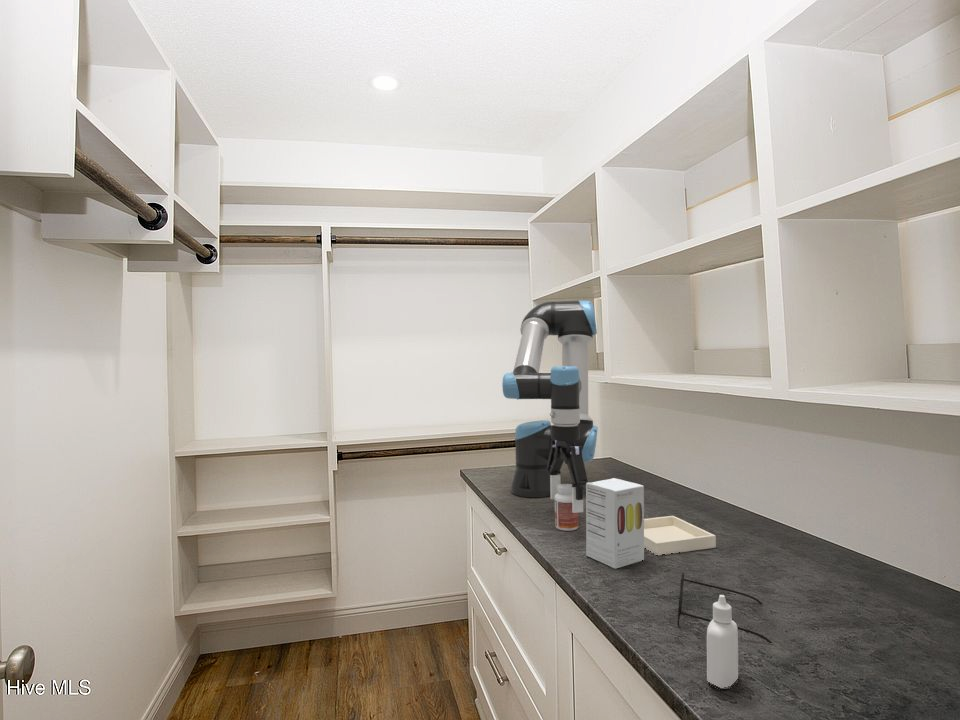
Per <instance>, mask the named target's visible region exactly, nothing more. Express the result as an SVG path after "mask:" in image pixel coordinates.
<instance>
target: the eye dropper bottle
mask: <svg viewBox="0 0 960 720" xmlns="http://www.w3.org/2000/svg"><path fill="white" fill-rule="evenodd" d="M732 613H733V609H732V606H731V605H730V604H729V603H728V602H727V599H726V596H725V595H724V594H719V596H718V600H717V601H715V602H713V603H712V619H711V620H712V621H711V622H709V624H708V626H707V629H706V681H708V682H710V683H712V684H714V685H716V686H718V687H720V688H724V687H728V686H731V685H732V684H733V683H734V682H735V681H736V680H737V679H739V633H738V632H739V629H738V628H737V627H738V625H737V623H736V622H735V621H734V620H733V619H732V616H733V614H732ZM737 681H738V680H737ZM708 682H707V683H708Z"/></svg>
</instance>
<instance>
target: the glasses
mask: <svg viewBox="0 0 960 720" xmlns="http://www.w3.org/2000/svg"><path fill="white" fill-rule="evenodd" d="M684 582H689V583H692V584H697V585H701V586H705V587H708V588H709V587H710V588H714V589H719V590H722V591H726V592H729V593H733V594H737V595H741V596H745V597H747V598H750V599H752V600H754V601H756V602H757V603H759V604H760V605H761V604H764V603H763V602H762V601H760V600H759V599H757V598H756V597H754V596H752V595H750V594H746V593H744V592H740V591H736V590H732V589H729V588H725V587H721V586H717V585H712V584H708V583H703V582H699V581H694V580H690V579H686V578H685V573H684V572H683V573H681V578H680V591H679V599H678V608H677V609H678V610H677V611H678V612H677V625H680V618H681V615H684V616H687V617H690V618H695V619H699V620H701V621H706V622H709V623H710V622H711V621H712V620H713V619H709V618H706V617H702V616H697V615H693V614H690V613H687V612H683V611H682V606H683V600H684V595H683V594H684V590H683V589H684ZM737 628H738V631H739V630H740V631H743V632H746V633H750V634H752V635H755V636H757V637H760V638H762V639H764V640H765V641H766V642H767V643H769V644H770V643H773V642H772V641H771V640H770V639H769V638H767V637H766V636H764V635H763V634H760V633H758V632H755V631H753V630H750V629H747V628H743V627H740V626H737Z"/></svg>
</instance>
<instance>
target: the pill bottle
mask: <svg viewBox="0 0 960 720" xmlns="http://www.w3.org/2000/svg"><path fill="white" fill-rule="evenodd" d="M572 484H573V483H561V484H560V485H558V486H557V491H558V493H557V494H556V495H555V499H553V501H554V526H555V528H556V529H557V530H560V531H565V532H566V531H568V532H570V531H571V532H573V531H575V530H577V529H578V528H579V512H578V513H573V512H572Z"/></svg>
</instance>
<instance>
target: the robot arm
mask: <svg viewBox="0 0 960 720" xmlns="http://www.w3.org/2000/svg"><path fill="white" fill-rule="evenodd" d="M596 323H597V322H596V315H595V309H594V305H593V303H592V301H590V300H579V299H578V300H566V301H565V300H564V301H562V300H561V301H546V302H542V303H540V304H538V305H536V306H535V307H533V308H532V309H531V310H530V311H528V313H526V315H525V316H524V318H523V319H522V321H521V324H520V329H519V330H520V335H521V338H520V340H519V341H520V343H519V347H518V350H517V354H516V359H515V363H514V366H513V367H514V368H513V370H512V371H511V372H507V373H505V374H504V375H503V377H502V384H501V385H502V394H503V396H504V397H505V398H506V399H510V400H511V399H512V400H513V399H514V400H550V410H551V411H550V413H549V416H550V420H547V419H546V420H545V419H544V420H543V419H542V420H534V421H527V422H523V423H520V424H518V425H517V426H516V428H515V434H514V435H515V436H514V441H515V443H514V444H515V445H514V446H515V470H514V473H513V476H512V480H511V484H510V493H511V494H513V495H516V496H519V497H522V498H523V497H524V498H545V497H550V500H554V499H555V495H556V494H557V493H558V491H557V486H558V485H560V484H562V483H561V474H562V473H561V468H562V466H563V464H566V465H567V469H568V472H569V474H570V478H571V480H572V483H571V484H572V512H573V513H578V514H579V513H584V487H586V483H589V481H588V476H587V472H586V467H585V463H586V462H587V463H588V462H591V461H593V460H594V457H595V452H596V446H597V437H598V426H597V425H594V420H593V418H591V417H590V415H589V344H590V343H591V342H592V341H593V339H594V338H593V337H594V336H595V335H597V334H598V332H597V330H598V329H597V324H596ZM548 336H557V340H558V342H559V343H560V344H561V345H562V348H561V349H562V352H561V355H562V357H561V358H562V359H561V361H562V362H561V363H562V364H561V365H560V366H559V365H558V366H552V367H551V369H550V372H540V369H541V368H540V367H541V361H542V356H543V350H544V344H545V340H546V339H547V338H548Z"/></svg>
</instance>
